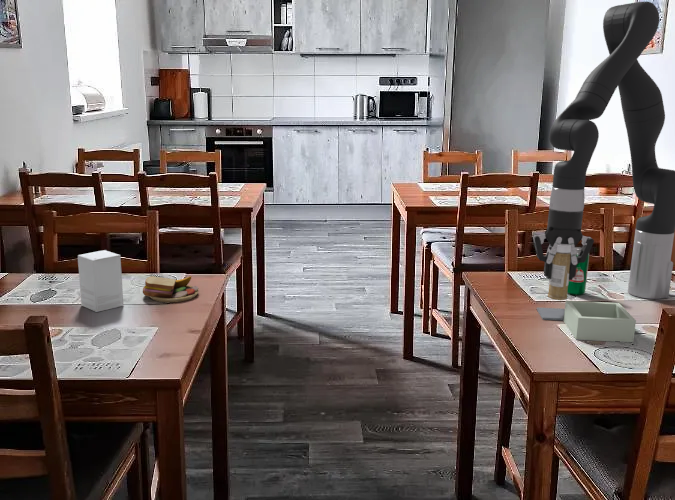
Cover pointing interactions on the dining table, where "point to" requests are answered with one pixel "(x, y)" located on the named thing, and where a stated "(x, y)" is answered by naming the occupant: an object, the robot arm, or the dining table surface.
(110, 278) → the supplement box
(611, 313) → the crate
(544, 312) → the coaster
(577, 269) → the soda can
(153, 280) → the toy sandwich meal
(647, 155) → the robot arm
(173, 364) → the dining table surface
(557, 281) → the sprinkles bottle
